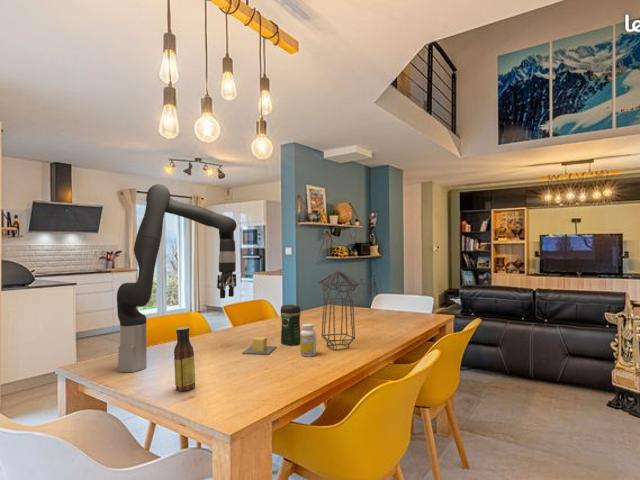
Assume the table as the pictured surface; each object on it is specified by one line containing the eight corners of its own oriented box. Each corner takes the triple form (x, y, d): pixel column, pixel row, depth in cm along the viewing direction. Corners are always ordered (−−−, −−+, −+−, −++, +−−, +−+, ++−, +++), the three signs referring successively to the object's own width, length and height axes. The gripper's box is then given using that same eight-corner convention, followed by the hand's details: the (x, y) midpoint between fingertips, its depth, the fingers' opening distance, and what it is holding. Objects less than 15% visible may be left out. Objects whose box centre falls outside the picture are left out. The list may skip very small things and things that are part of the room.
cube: (263, 351, 164) (263, 339, 165) (252, 350, 165) (252, 339, 165) (266, 348, 169) (266, 337, 170) (256, 347, 170) (256, 336, 170)
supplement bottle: (306, 351, 164) (305, 322, 165) (318, 353, 161) (318, 324, 161) (297, 355, 159) (297, 325, 159) (310, 357, 155) (310, 326, 155)
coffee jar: (304, 343, 179) (303, 304, 180) (292, 346, 173) (291, 306, 174) (290, 340, 186) (289, 303, 186) (278, 343, 180) (277, 305, 180)
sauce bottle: (197, 384, 126) (197, 325, 126) (192, 391, 120) (191, 329, 120) (178, 385, 126) (177, 326, 126) (171, 392, 119) (170, 330, 120)
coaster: (268, 354, 160) (268, 353, 160) (242, 354, 162) (242, 352, 162) (276, 347, 172) (276, 346, 172) (251, 346, 174) (251, 345, 174)
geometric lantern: (316, 345, 176) (316, 270, 177) (347, 342, 181) (346, 270, 183) (329, 353, 161) (329, 272, 163) (361, 350, 166) (361, 271, 168)
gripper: (227, 261, 162) (227, 299, 161) (241, 261, 176) (241, 296, 175) (212, 261, 164) (211, 298, 163) (226, 261, 178) (226, 295, 177)
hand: (227, 297), depth 169 cm, fingers open, 8 cm apart
